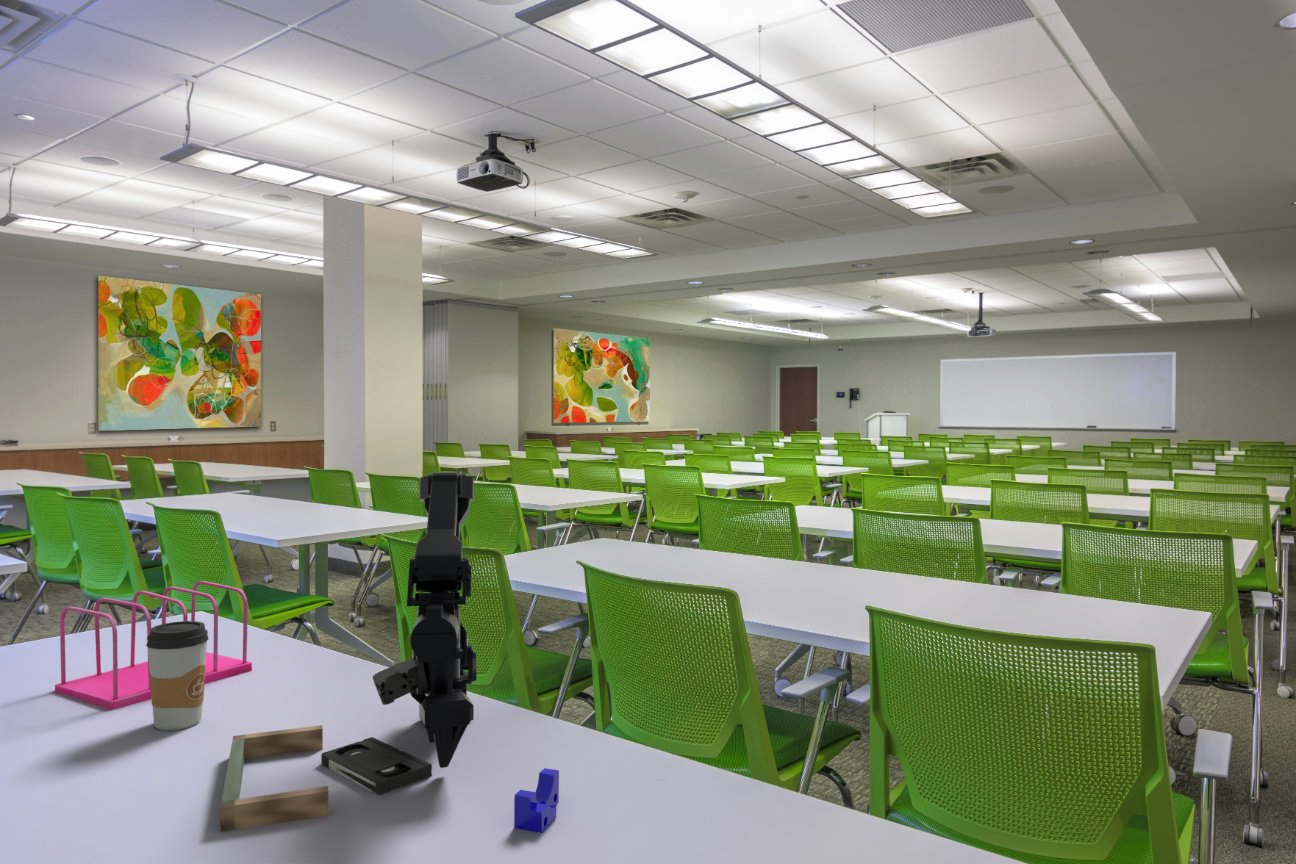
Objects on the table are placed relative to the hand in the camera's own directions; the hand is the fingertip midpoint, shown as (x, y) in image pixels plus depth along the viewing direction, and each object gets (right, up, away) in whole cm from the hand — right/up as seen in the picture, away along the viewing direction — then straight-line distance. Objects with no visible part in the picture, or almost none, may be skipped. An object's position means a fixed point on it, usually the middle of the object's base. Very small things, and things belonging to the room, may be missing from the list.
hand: (438, 754), depth 119 cm
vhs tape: (-8, -2, -3) cm, 8 cm away
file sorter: (-57, 0, +33) cm, 66 cm away
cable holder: (+16, -2, -15) cm, 22 cm away
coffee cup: (-43, -1, +13) cm, 45 cm away
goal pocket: (-18, -1, -7) cm, 20 cm away
